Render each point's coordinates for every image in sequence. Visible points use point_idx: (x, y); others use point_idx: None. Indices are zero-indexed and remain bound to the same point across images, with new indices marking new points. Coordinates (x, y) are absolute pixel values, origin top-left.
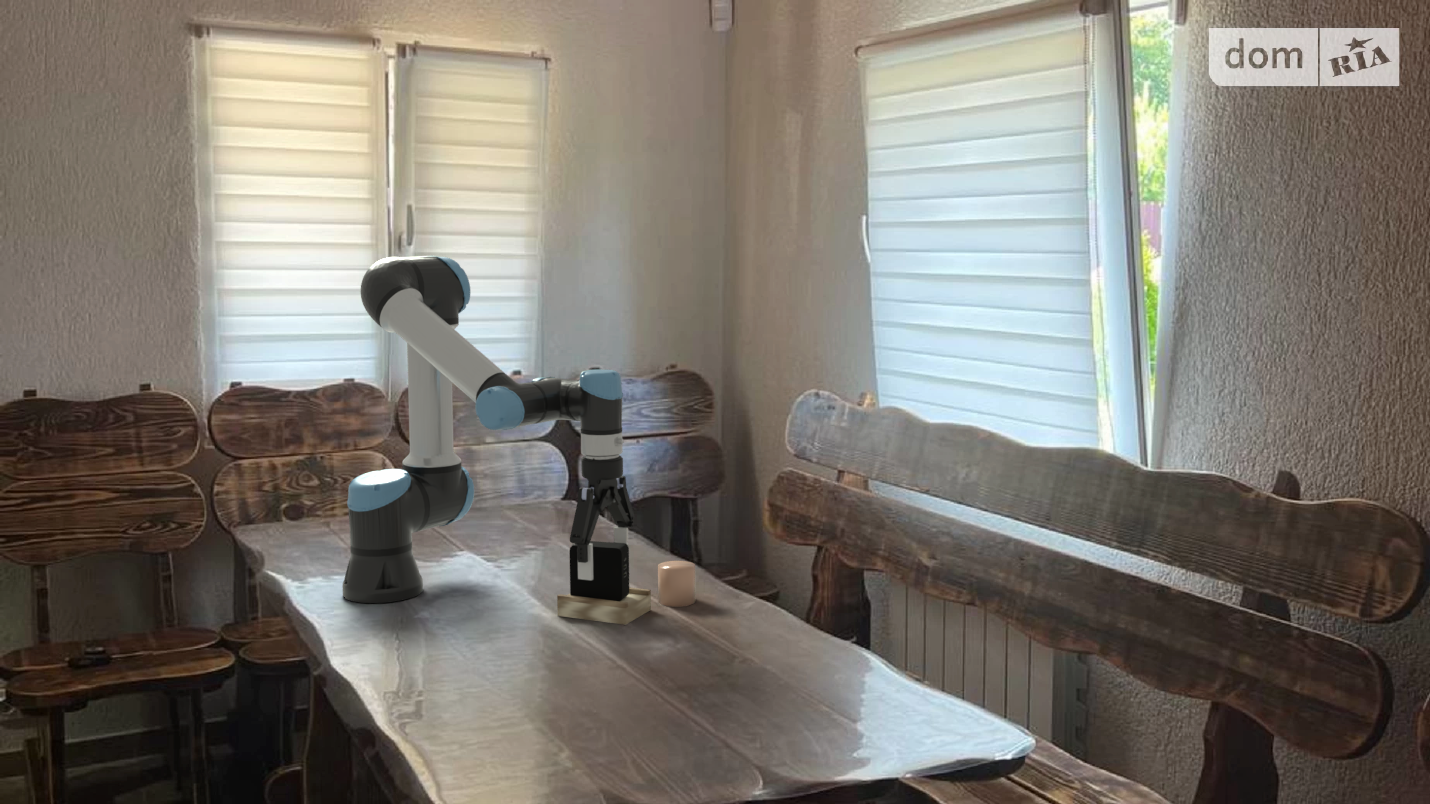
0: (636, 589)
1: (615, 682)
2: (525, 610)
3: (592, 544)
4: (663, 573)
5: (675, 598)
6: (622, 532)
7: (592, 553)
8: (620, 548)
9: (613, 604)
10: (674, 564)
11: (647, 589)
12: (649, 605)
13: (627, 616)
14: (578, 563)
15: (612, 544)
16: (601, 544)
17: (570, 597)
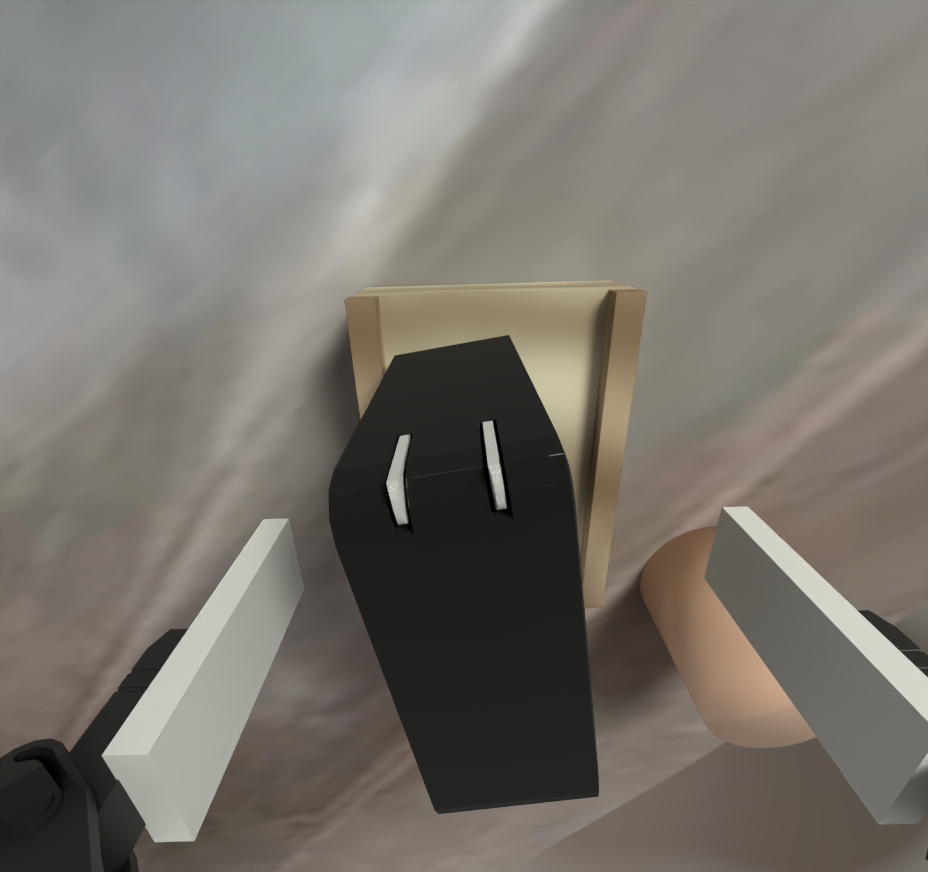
0: (589, 565)
1: (3, 715)
2: (364, 61)
3: (192, 834)
4: (701, 662)
5: (652, 618)
6: (858, 750)
7: (231, 743)
8: (463, 809)
9: None
10: None
11: (601, 597)
12: None
13: None
14: (217, 594)
15: (527, 757)
16: (491, 705)
17: (355, 380)
